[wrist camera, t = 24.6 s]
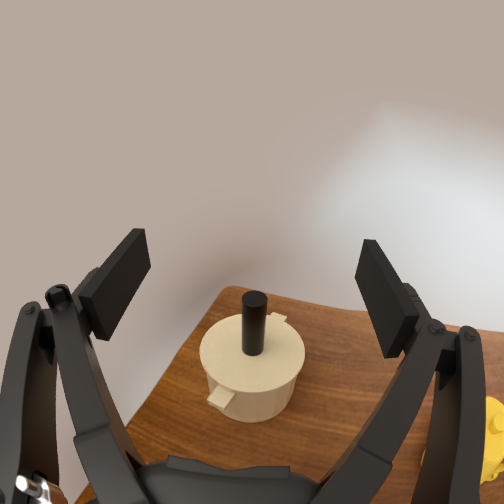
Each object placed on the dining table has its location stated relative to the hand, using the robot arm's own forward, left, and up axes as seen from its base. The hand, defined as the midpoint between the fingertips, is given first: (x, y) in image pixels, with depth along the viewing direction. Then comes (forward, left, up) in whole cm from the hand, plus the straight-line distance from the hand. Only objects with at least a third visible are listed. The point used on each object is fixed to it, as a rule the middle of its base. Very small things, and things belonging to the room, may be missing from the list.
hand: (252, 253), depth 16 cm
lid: (-4, +9, -20) cm, 23 cm away
